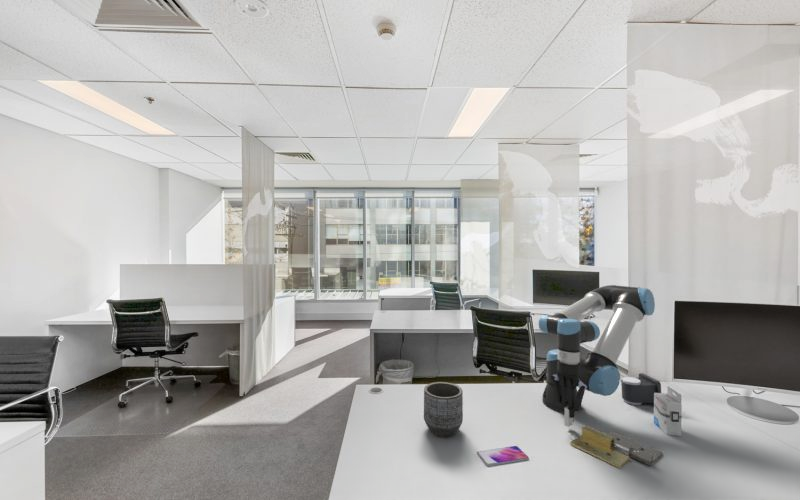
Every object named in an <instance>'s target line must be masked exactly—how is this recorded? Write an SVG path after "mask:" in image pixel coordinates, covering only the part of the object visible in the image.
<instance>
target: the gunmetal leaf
mask: <svg viewBox="0 0 800 500" xmlns="http://www.w3.org/2000/svg"><path fill="white" fill-rule="evenodd" d="M607 434H608V435H610V436H612V437H614V442H612V441H611V445H613V446H614V448H617V449H620V450H621V451H624V452H626V453H628V456H629V457H630V458H632V459H635V460H636V461H639V462H641V463H642V464H643V463H644V464H645V465H647V466H653V465H654V464H655V463H656V462H657V461H658V460H659V459H660V458H661V457H662V456H663V455H664V453H663V451H661V450H658V449H656V448H654V447H652V446H649V445H646V444H644V443H642V442H640V441H638V440H637V441H636V440H634V439H631V438H630V437H627V436H625V435H622V434H620V433H617V432H616V431H609V432H608V433H607Z"/></svg>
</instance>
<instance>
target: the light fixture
mask: <svg viewBox="0 0 800 500" xmlns="http://www.w3.org/2000/svg"><path fill="white" fill-rule="evenodd" d="M620 383H621V384H620V385H621V386H620V387H621V398H622V399H623V402H625V403H627V404H629V405H634V406H641V405H642V404H649V403H650V404H652V405H653V406H654V393H662V385H661V381H659V380H657V379H655V378H653V377H651V376H649V375H648V374H645V373H641V372H640V373H638V377H632V376H624V377H622V379H620Z"/></svg>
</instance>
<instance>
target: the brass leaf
mask: <svg viewBox="0 0 800 500" xmlns="http://www.w3.org/2000/svg"><path fill="white" fill-rule="evenodd" d="M611 441H612V442H614V437H612V436H610V435H608V433H605V432H602V431H600V430H598V429H595V428H594V427H591V426H588V425H584V426H582V427H581V434H580V435H579V436H577V437H576V438H574V439H573V440H571V441H570V442H569V445H570V446H572V447H575V448H577V449H579V450H581V451H583V452H585V453H587V454H589V455H591V456H593V457H595V458H596V459H597V458H598V459H599V460H601V461H603V462H606V463H607V464H609V465H612V466H614V467H616V468H618V469H620V468H622V467H623V466H624V465H625V464H626V463H627V462H629V461H630V459H631V457H630V456H629V455H626V454H624V453H622V452H619V451H617V450H616V449H613V448H615V446H613V445H611Z"/></svg>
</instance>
